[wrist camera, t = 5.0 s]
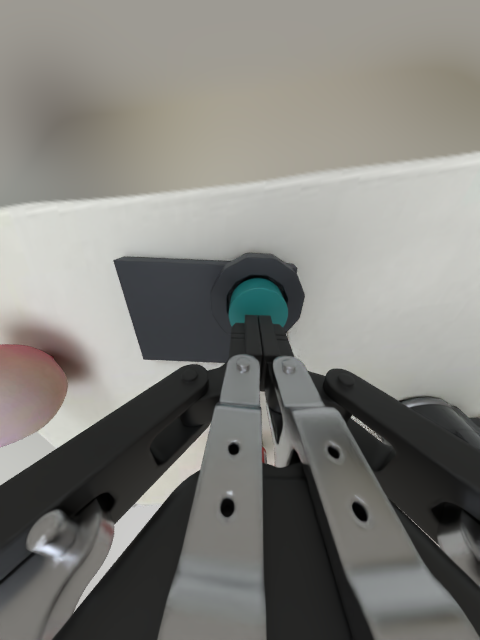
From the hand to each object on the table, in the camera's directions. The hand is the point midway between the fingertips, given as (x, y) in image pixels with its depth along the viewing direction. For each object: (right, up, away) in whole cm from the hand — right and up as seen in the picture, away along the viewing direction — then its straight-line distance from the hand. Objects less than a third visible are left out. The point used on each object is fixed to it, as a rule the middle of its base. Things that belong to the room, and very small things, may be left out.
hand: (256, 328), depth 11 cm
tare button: (0, +2, +3) cm, 3 cm away
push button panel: (-4, +1, +7) cm, 8 cm away
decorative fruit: (-22, -4, +10) cm, 24 cm away
